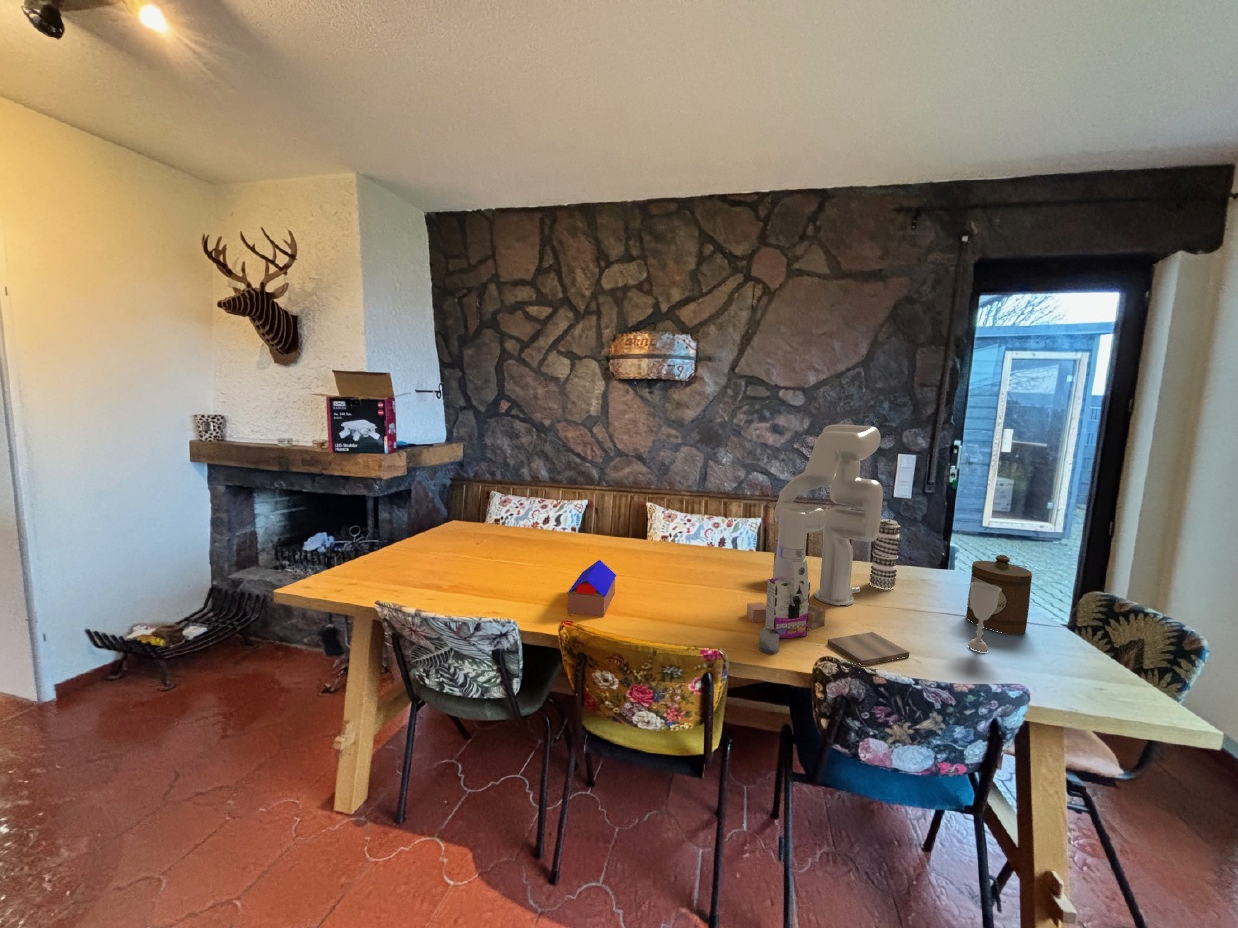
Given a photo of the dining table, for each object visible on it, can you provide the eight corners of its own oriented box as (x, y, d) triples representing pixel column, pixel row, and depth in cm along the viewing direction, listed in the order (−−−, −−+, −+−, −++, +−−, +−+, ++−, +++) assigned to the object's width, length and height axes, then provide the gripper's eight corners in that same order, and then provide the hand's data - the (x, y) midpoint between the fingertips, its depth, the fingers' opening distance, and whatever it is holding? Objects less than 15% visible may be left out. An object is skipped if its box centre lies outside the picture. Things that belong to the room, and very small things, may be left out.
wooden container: (954, 614, 159) (962, 548, 157) (997, 613, 160) (1006, 548, 158) (992, 635, 145) (1001, 563, 142) (1039, 635, 146) (1049, 563, 143)
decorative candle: (871, 589, 179) (878, 522, 176) (865, 580, 188) (871, 516, 185) (899, 592, 177) (906, 524, 174) (891, 583, 186) (898, 518, 183)
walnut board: (872, 636, 142) (872, 631, 141) (908, 657, 130) (909, 651, 130) (827, 644, 136) (827, 639, 136) (861, 666, 125) (862, 660, 125)
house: (615, 593, 169) (616, 560, 168) (604, 618, 149) (605, 581, 148) (581, 590, 171) (582, 558, 169) (566, 614, 151) (566, 577, 150)
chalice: (981, 643, 140) (988, 582, 137) (1000, 655, 133) (1008, 591, 131) (955, 642, 139) (963, 581, 137) (973, 655, 133) (981, 591, 130)
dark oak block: (807, 618, 153) (808, 603, 152) (824, 626, 148) (825, 610, 147) (794, 622, 150) (795, 607, 149) (812, 630, 145) (813, 614, 144)
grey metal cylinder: (770, 644, 135) (771, 627, 135) (782, 653, 131) (783, 635, 130) (754, 646, 134) (756, 629, 133) (766, 655, 129) (767, 637, 129)
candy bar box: (796, 628, 145) (800, 575, 143) (807, 636, 140) (811, 581, 138) (763, 632, 142) (766, 578, 140) (773, 640, 138) (777, 584, 135)
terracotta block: (761, 614, 155) (762, 602, 154) (768, 621, 150) (769, 609, 150) (746, 615, 154) (747, 603, 154) (752, 622, 149) (753, 609, 149)
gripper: (823, 560, 131) (818, 625, 134) (782, 542, 147) (778, 600, 150) (800, 562, 129) (795, 628, 131) (761, 544, 145) (758, 603, 147)
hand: (786, 613), depth 141 cm, fingers closed on candy bar box, 5 cm apart
